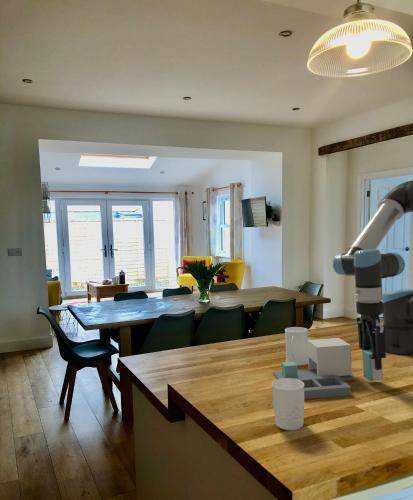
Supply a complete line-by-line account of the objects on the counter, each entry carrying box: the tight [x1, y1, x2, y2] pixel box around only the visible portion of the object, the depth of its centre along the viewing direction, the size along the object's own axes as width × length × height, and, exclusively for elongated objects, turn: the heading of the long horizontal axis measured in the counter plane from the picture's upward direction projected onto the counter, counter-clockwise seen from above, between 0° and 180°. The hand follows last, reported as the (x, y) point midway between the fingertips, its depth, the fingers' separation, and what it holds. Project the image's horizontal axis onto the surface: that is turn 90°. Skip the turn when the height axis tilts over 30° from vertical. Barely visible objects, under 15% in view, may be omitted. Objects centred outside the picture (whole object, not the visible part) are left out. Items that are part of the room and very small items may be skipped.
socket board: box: [292, 375, 352, 400], centre depth 116 cm, size 16×10×2 cm, turn 95°
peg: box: [361, 350, 384, 382], centre depth 119 cm, size 4×4×8 cm
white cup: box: [271, 378, 305, 431], centre depth 96 cm, size 8×8×10 cm
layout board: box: [273, 361, 355, 382], centre depth 127 cm, size 23×10×5 cm, turn 95°
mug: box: [284, 326, 309, 367], centre depth 142 cm, size 12×8×12 cm
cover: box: [307, 337, 353, 376], centre depth 127 cm, size 11×9×10 cm
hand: (373, 376), depth 119 cm, fingers closed on peg, 4 cm apart
